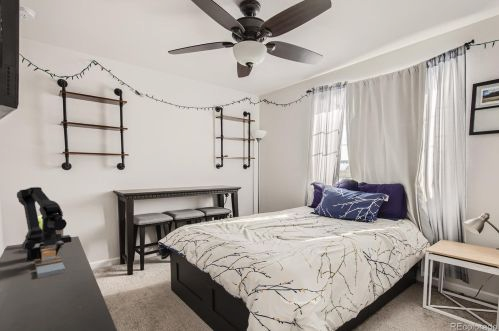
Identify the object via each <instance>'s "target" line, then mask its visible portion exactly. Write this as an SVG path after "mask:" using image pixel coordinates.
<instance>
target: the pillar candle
mask: <svg viewBox="0 0 499 331" xmlns="http://www.w3.org/2000/svg"><path fill="white" fill-rule="evenodd" d="M57 234H61V236H64V229H62V230H56V235H57ZM62 246H63V247H64V245H62ZM62 246H61V248H63V247H62ZM42 247H43V248H44V249H49V248H56V244H55V245H48V246H42Z"/></svg>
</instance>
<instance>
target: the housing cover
mask: <svg viewBox="0 0 499 331" xmlns="http://www.w3.org/2000/svg"><path fill="white" fill-rule="evenodd" d="M52 256H57V255H56V250H55V248H49V249H41V257H42V258H46V257H52Z"/></svg>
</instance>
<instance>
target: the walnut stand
mask: <svg viewBox="0 0 499 331" xmlns="http://www.w3.org/2000/svg"><path fill="white" fill-rule="evenodd" d="M61 262H62V259H61V257H60V255H56V261H52V262H46V263H41V260H40V259H35V260H34V268H35V269H36V267H40V266H45V265H50V264H56V263H61Z"/></svg>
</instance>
